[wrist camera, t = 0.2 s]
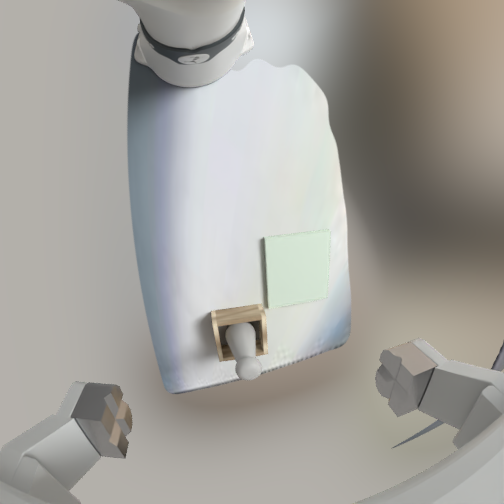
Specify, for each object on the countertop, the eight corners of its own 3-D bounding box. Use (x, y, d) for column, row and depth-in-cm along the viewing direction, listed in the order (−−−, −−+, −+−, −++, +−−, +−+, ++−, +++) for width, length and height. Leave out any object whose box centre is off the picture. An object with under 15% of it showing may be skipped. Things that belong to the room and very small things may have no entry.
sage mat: (264, 236, 48) (265, 238, 47) (328, 229, 49) (330, 230, 48) (267, 306, 53) (268, 308, 52) (325, 295, 55) (327, 298, 54)
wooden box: (211, 311, 51) (212, 323, 47) (261, 303, 52) (265, 315, 49) (218, 348, 55) (219, 361, 51) (263, 341, 56) (267, 353, 52)
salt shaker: (219, 322, 52) (226, 369, 40) (246, 310, 52) (260, 356, 41) (231, 342, 55) (240, 389, 43) (257, 332, 55) (272, 377, 43)
